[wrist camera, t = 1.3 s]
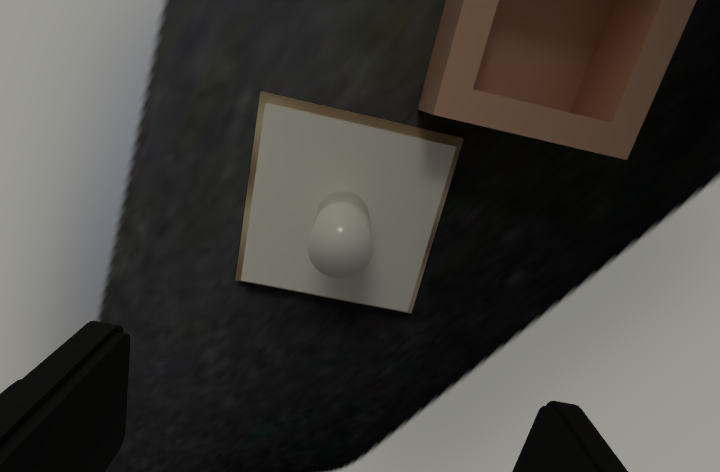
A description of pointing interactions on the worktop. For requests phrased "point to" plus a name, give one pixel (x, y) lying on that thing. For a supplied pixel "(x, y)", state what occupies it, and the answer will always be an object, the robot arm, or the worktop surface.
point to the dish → (554, 67)
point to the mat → (356, 119)
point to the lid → (342, 207)
